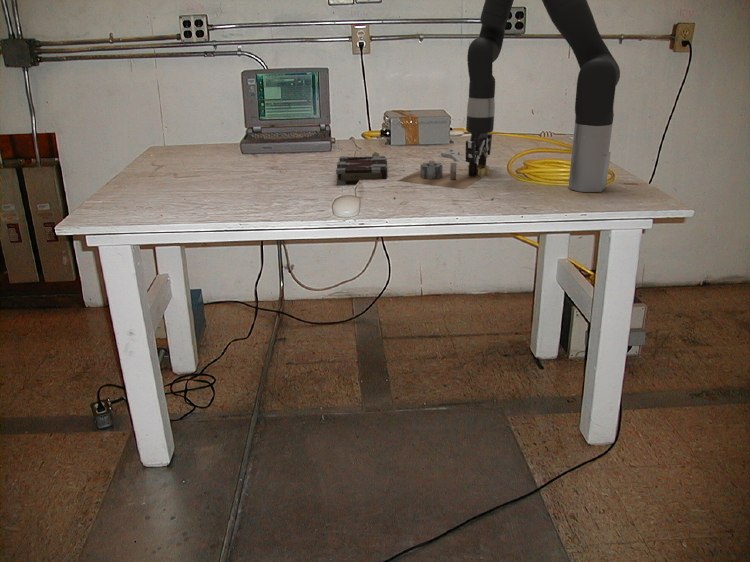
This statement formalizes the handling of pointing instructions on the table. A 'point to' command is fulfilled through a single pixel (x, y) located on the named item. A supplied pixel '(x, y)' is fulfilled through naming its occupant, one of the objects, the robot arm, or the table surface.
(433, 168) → the steel gear
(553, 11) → the robot arm
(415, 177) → the gear board
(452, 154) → the adjustable wrench
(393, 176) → the table surface
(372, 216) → the table surface
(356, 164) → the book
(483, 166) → the brass gear
